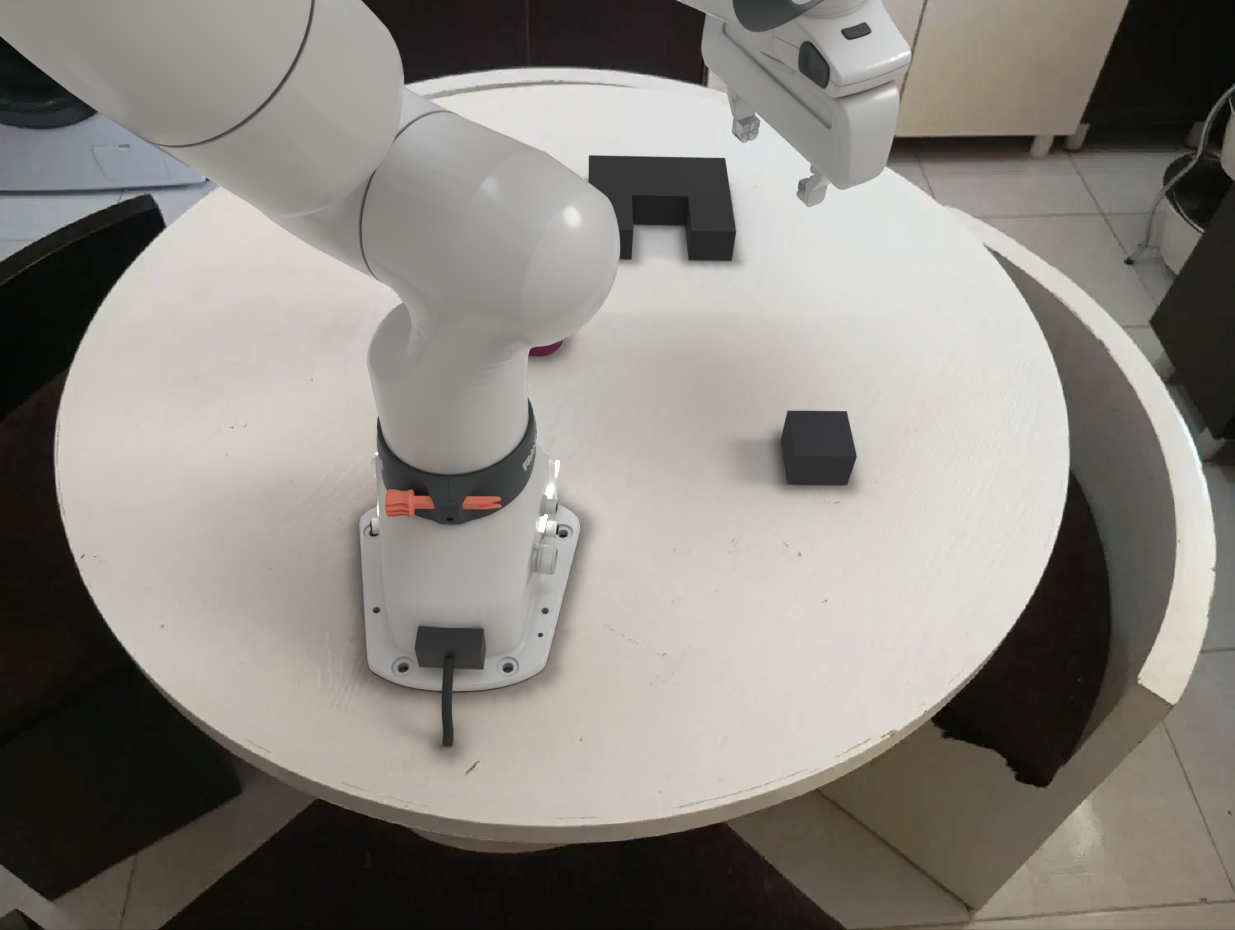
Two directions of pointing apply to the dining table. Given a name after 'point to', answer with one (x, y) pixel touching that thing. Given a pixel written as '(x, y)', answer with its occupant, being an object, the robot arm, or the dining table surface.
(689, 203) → the big black u-shaped block
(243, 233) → the dining table surface
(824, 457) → the small cube
